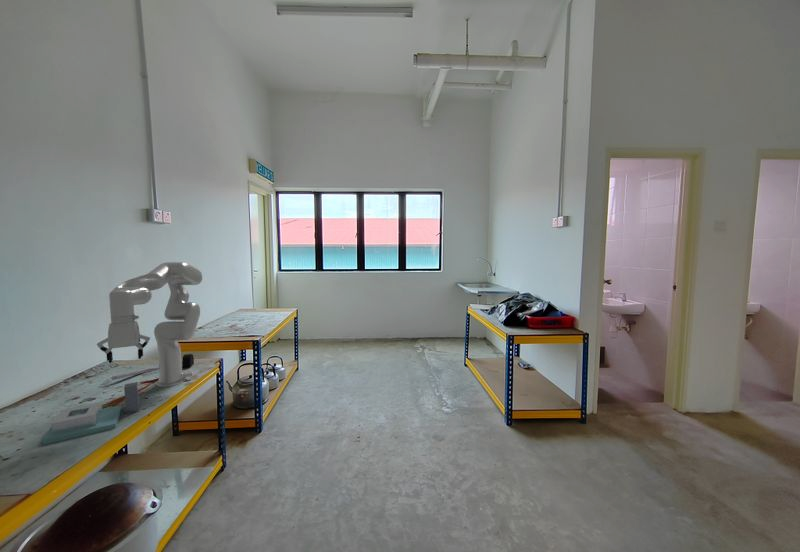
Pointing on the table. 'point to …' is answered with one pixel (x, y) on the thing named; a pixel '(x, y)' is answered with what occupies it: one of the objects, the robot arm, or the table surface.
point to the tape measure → (187, 361)
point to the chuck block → (82, 422)
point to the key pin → (131, 397)
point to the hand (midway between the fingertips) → (125, 359)
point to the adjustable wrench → (134, 372)
